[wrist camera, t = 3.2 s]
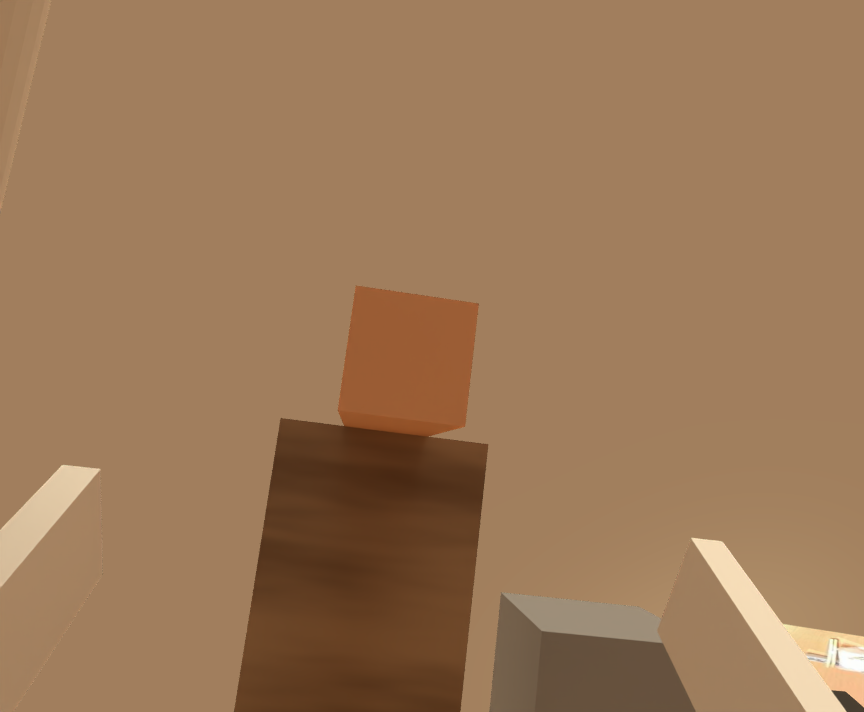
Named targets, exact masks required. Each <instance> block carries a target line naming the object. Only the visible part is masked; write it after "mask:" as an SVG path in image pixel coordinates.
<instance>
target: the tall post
mask: <svg viewBox="0 0 864 712" xmlns="http://www.w3.org/2000/svg"><path fill="white" fill-rule="evenodd" d="M487 452H488V444H481V443H473V442H465V441H458V440H450V439H441V438H433V437H426V436H418V435H410V434H402V433H394V432H386V431H378V430H370V429H362V428H354V427H346V426H338V425H331V424H323V423H315V422H307V421H298V420H290V419H283V418H281V420H280V426H279V433H278V438H277V445H276V451H275V457H274V464H273V470H272V476H271V482H270V489H269V495H268V501H267V508H266V514H265V520H264V527H263V533H262V539H261V545H260V552H259V558H258V564H257V571H256V577H255V583H254V590H253V596H252V602H251V608H250V615H249V621H248V627H247V634H246V640H245V646H244V652H243V659H242V665H241V672H240V678H239V684H238V690H237V696H236V703H235V709H234V712H460V710H461V699H462V690H463V680H464V671H465V661H466V652H467V643H468V632H469V624H470V613H471V604H472V595H473V585H474V576H475V566H476V557H477V547H478V538H479V528H480V519H481V509H482V499H483V489H484V480H485V471H486V461H487Z"/></svg>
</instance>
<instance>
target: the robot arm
mask: <svg viewBox="0 0 864 712" xmlns="http://www.w3.org/2000/svg"><path fill="white" fill-rule="evenodd" d="M50 3H51V0H0V212H1V208H2V204H3V200H4V196H5V191H6V187H7V183H8V178H9V175H10V170H11V166H12V162H13V158H14V154H15V149H16V145H17V141H18V136H19V133H20V129H21V124H22V120H23V116H24V112H25V108H26V104H27V100H28V95H29V91H30V87H31V83H32V78H33V74H34V70H35V66H36V62H37V58H38V53H39V49H40V45H41V41H42V37H43V33H44V28H45V24H46V20H47V16H48V12H49V7H50ZM101 520H102V519H101V473H100V469H94V468H86V467H77V466H69V465H62V466H61V467H60V468H59V469H58V470H57V471H56V472H55V473H54V474H53V475H52V477H51V478H50V479H49V480H48V481H47V482H46V483H45V484H44V485H43V486H42V487H41V488H40V489H39V490H38V491H37V492H36V493H35V494H34V495H33V496H32V497H31V498H30V499H29V501H28V502H27V503H26V504H25V505H24V506H23V507H22V508H21V509H20V510H19V511H18V512H17V513H16V514H15V515H14V516H13V517H12V518H11V519H10V520H9V521H8V522H7V523H6V524H5V526H4V527H3V528H2V529H1V530H0V712H14V710H15V709H16V707H17V706H18V704H19V703H20V701H21V700H22V698H23V697H24V695H25V693H26V692H27V690H28V689H29V687H30V686H31V684H32V683H33V681H34V680H35V678H36V677H37V675H38V673H39V672H40V670H41V669H42V667H43V666H44V664H45V663H46V661H47V659H48V658H49V656H50V655H51V653H52V652H53V650H54V649H55V647H56V646H57V644H58V643H59V641H60V639H61V638H62V636H63V635H64V633H65V632H66V630H67V629H68V627H69V626H70V624H71V622H72V621H73V619H74V618H75V616H76V615H77V613H78V612H79V610H80V609H81V607H82V606H83V604H84V602H85V601H86V599H87V597H88V596H89V595H90V593H91V592H92V590H93V588H94V587H95V586H96V584H97V582H98V581H99V579H100V578H101V576H102V575H103V570H102V569H103V567H102V566H103V565H102V521H101ZM657 632H658V634H659V636H660V638H661V640H662V642H663V644H664V646H665V648H666V651H667V653H668V655H669V657H670V659H671V661H672V663H673V665H674V667H675V669H676V671H677V673H678V676H679V678H680V680H681V682H682V684H683V686H684V688H685V690H686V692H687V694H688V696H689V698H690V701H691V703H692V705H693V707H694V709H695V711H696V712H864V707H863V706H861V705H860V704H859V703H858V702H857V701H856V700H855V699H853V698H852V697H851V696H850V695H849V694H848V693H847V692H843V691H833V690H830V688H829V687H828V686H827V684H826V683H825V681H824V680H823V679H822V677H821V676H820V675H819V673H818V672H817V671H816V669H815V668H814V666H813V665H812V664H811V662H810V661H809V660H808V658H807V657H806V655H805V654H804V653H803V651H802V650H801V649H800V647H799V646H798V644H797V643H796V642H795V640H794V639H793V638H792V636H791V635H790V634H789V632H788V631H787V629H786V628H785V627H784V625H783V624H782V623H781V621H780V620H779V619H778V617H777V616H776V614H775V613H774V612H773V610H772V609H771V608H770V606H769V605H768V603H767V602H766V601H765V599H764V598H763V597H762V595H761V594H760V593H759V591H758V590H757V589H756V587H755V586H754V584H753V583H752V581H751V580H750V579H749V577H748V576H747V575H746V573H745V572H744V571H743V569H742V568H741V566H740V565H739V564H738V562H737V561H736V560H735V559H734V557H733V556H732V554H731V553H730V551H729V550H728V549H727V547H726V546H725V545H724V543H723V542H722V541H714V540H706V539H696V538H691V539H690V541H689V544H688V547H687V550H686V552H685V555H684V558H683V561H682V564H681V566H680V569H679V572H678V574H677V577H676V580H675V583H674V585H673V588H672V591H671V594H670V596H669V599H668V602H667V605H666V607H665V610H664V613H663V616H662V618H661V621H660V624H659V626H658V629H657Z"/></svg>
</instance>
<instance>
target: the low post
mask: <svg viewBox="0 0 864 712" xmlns="http://www.w3.org/2000/svg"><path fill="white" fill-rule="evenodd" d="M660 621H661V618H659V617H657V616H655V615H653V614H652V613H650V612H648V611H646V610H644V609H642V608H640V607H636V606H626V605H616V604H607V603H597V602H588V601H577V600H568V599H559V598H549V597H539V596H529V595H520V594H511V593H510V594H509V593H501V600H500V610H499V620H498V631H497V642H496V650H495V662H494V671H493V681H492V691H491V702H490V712H696V711H695V709H694V707H693V705H692V703H691V701H690V698H689V696H688V694H687V692H686V690H685V688H684V686H683V684H682V682H681V680H680V678H679V676H678V673H677V671H676V669H675V667H674V665H673V663H672V661H671V659H670V657H669V655H668V653H667V651H666V648H665V646H664V644H663V642H662V640H661V638H660V636H659V634H658V632H657V629H658V626H659V624H660Z"/></svg>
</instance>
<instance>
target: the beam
mask: <svg viewBox="0 0 864 712" xmlns="http://www.w3.org/2000/svg"><path fill="white" fill-rule="evenodd" d="M478 306H479V304H478V303H471V302H464V301H457V300H451V299H444V298H436V297H430V296H424V295H417V294H409V293H403V292H396V291H390V290H382V289H375V288H369V287H362V286H356V287H355V294H354V302H353V309H352V315H351V323H350V329H349V336H348V343H347V350H346V357H345V364H344V370H343V377H342V384H341V391H340V398H339V405H338V412H339V415H340V417H341V419H342V422H343V424H344V426H346V427H354V428H362V429H370V430H378V431H386V432H394V433H402V434H410V435H418V436H426V437H428V436H432V435H435V434H439V433H443V432H447V431H450V430H454V429H458V428H462V427H465V423H466V413H467V405H468V396H469V386H470V378H471V369H472V360H473V351H474V342H475V332H476V324H477V315H478Z"/></svg>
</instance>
